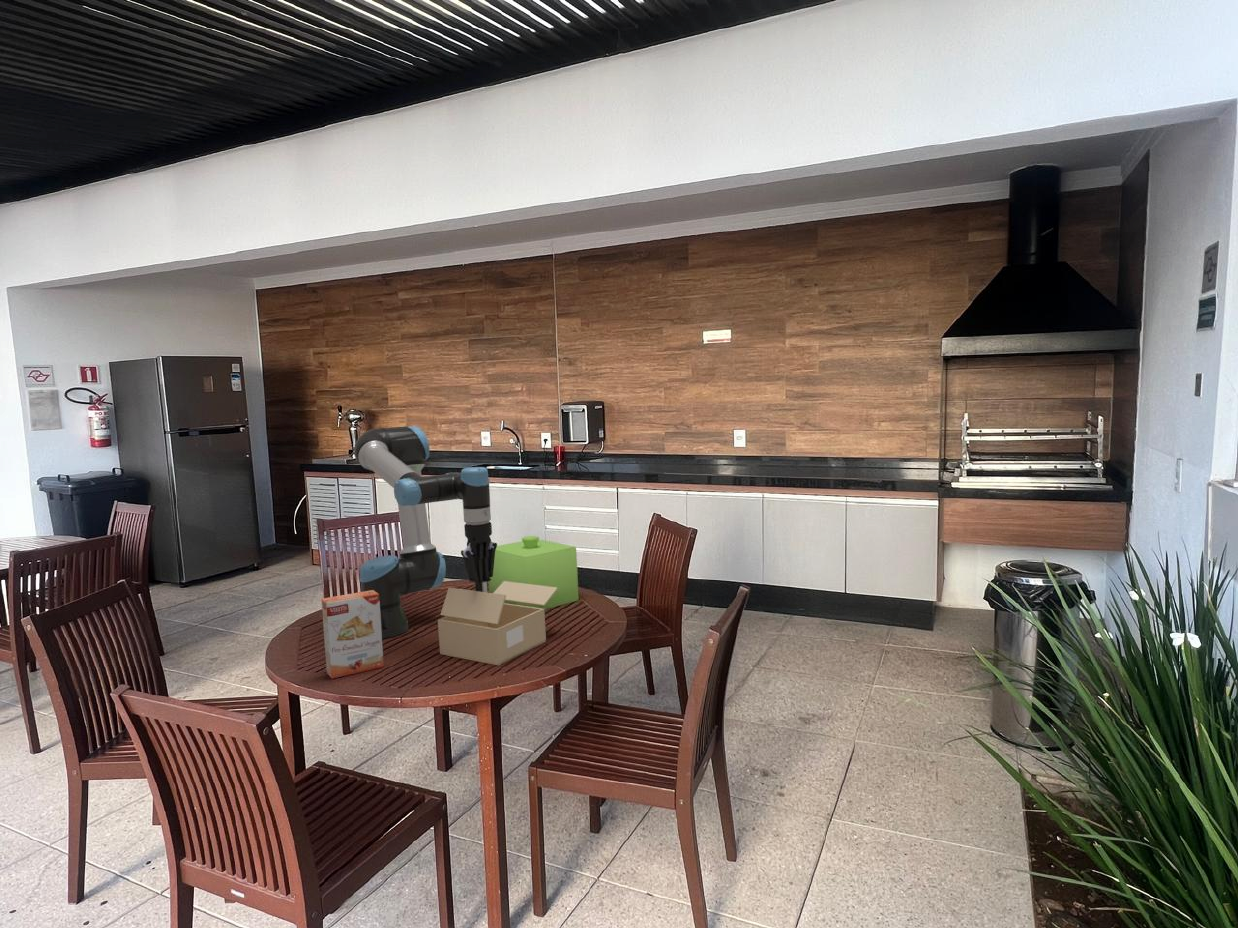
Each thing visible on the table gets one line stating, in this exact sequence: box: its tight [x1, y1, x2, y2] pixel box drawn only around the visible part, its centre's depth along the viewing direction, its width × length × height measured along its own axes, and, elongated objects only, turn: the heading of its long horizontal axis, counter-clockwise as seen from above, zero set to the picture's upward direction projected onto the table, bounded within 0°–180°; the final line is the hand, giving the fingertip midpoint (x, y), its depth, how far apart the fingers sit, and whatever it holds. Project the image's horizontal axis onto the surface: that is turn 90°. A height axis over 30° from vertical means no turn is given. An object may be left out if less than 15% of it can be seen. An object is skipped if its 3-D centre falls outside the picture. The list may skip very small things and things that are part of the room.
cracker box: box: [321, 590, 384, 679], centre depth 199 cm, size 14×6×21 cm, turn 124°
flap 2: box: [494, 581, 558, 606], centre depth 225 cm, size 21×1×8 cm
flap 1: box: [440, 587, 506, 624], centre depth 206 cm, size 21×1×8 cm, turn 59°
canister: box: [488, 535, 580, 611], centre depth 262 cm, size 25×21×23 cm
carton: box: [437, 603, 547, 667], centre depth 213 cm, size 22×21×10 cm
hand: (482, 604), depth 210 cm, fingers closed
